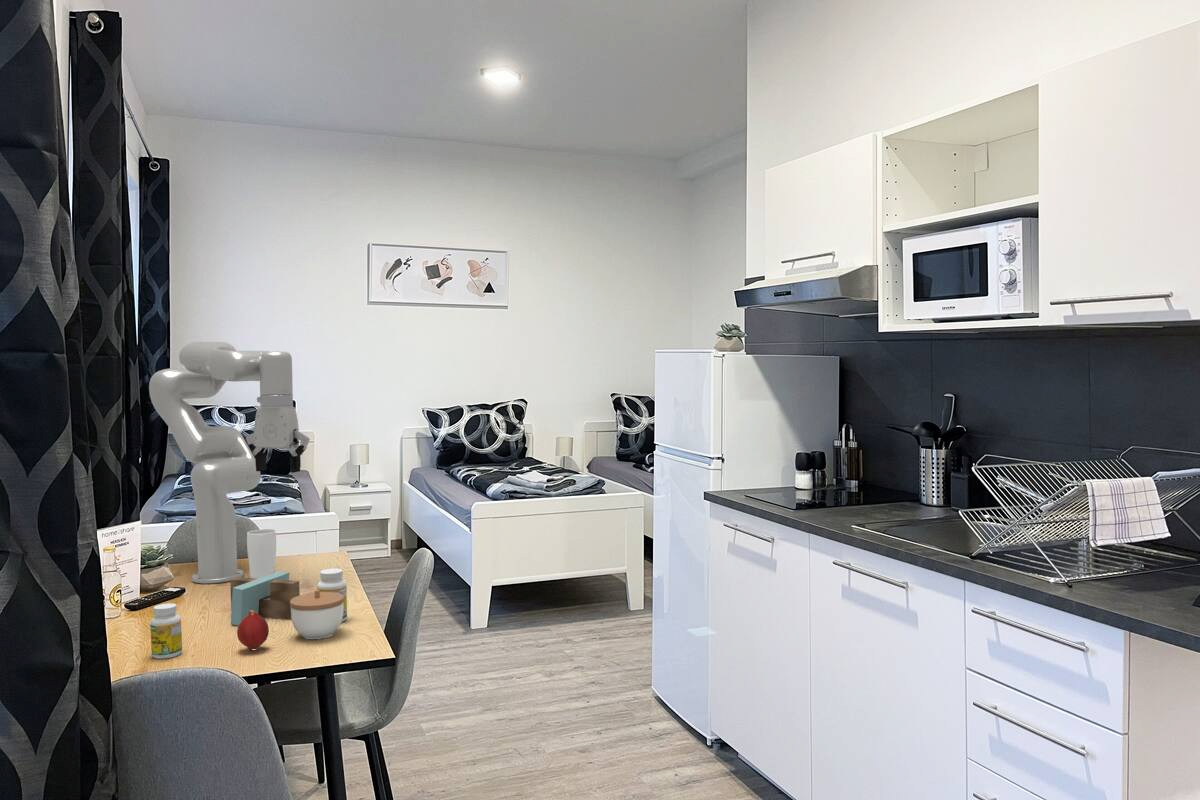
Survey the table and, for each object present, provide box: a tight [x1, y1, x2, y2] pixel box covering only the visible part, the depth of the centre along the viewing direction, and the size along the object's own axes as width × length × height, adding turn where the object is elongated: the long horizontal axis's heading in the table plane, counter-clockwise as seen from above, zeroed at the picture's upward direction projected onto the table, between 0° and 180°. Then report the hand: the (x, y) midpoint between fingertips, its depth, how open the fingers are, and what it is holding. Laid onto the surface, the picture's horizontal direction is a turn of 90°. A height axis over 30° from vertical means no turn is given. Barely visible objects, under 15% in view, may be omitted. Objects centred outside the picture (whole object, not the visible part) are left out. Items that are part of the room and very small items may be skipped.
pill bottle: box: [316, 568, 348, 623], centre depth 193 cm, size 6×6×11 cm
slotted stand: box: [229, 576, 301, 620], centre depth 197 cm, size 16×2×8 cm, turn 75°
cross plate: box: [230, 570, 291, 626], centre depth 197 cm, size 16×2×8 cm, turn 163°
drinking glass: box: [246, 528, 277, 578], centre depth 218 cm, size 7×7×15 cm
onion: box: [236, 610, 270, 650], centre depth 173 cm, size 6×6×8 cm
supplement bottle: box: [149, 603, 183, 660], centre depth 171 cm, size 5×5×10 cm
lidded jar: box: [290, 589, 344, 640], centre depth 182 cm, size 11×11×9 cm
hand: (278, 471), depth 217 cm, fingers open, 9 cm apart
